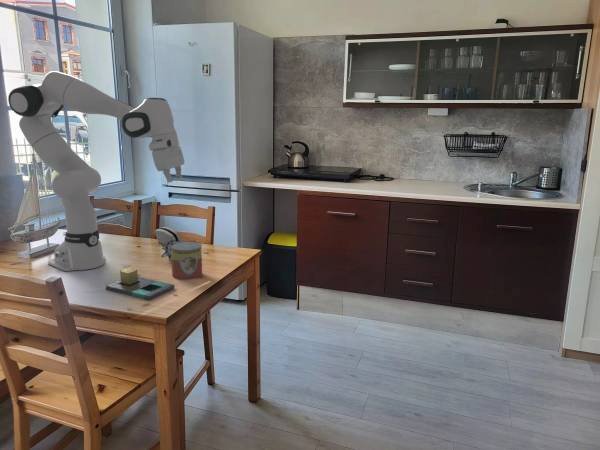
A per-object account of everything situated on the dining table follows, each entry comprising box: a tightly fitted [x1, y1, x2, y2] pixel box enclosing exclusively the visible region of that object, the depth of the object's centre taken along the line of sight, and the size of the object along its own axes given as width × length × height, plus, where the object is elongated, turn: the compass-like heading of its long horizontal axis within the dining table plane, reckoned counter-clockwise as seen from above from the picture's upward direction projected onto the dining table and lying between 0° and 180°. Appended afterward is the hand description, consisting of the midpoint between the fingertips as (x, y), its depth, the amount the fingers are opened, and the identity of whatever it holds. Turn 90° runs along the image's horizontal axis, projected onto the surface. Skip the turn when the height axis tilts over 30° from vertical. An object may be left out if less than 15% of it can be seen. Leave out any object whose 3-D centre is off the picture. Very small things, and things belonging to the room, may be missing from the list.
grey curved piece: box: [154, 226, 182, 246], centre depth 216 cm, size 17×5×10 cm, turn 48°
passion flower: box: [160, 237, 185, 263], centre depth 195 cm, size 11×11×12 cm
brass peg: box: [119, 267, 139, 286], centre depth 162 cm, size 4×4×6 cm
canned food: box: [171, 241, 203, 281], centre depth 175 cm, size 11×11×12 cm
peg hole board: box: [105, 276, 175, 302], centre depth 161 cm, size 20×12×2 cm, turn 63°
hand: (175, 180), depth 170 cm, fingers open, 8 cm apart
